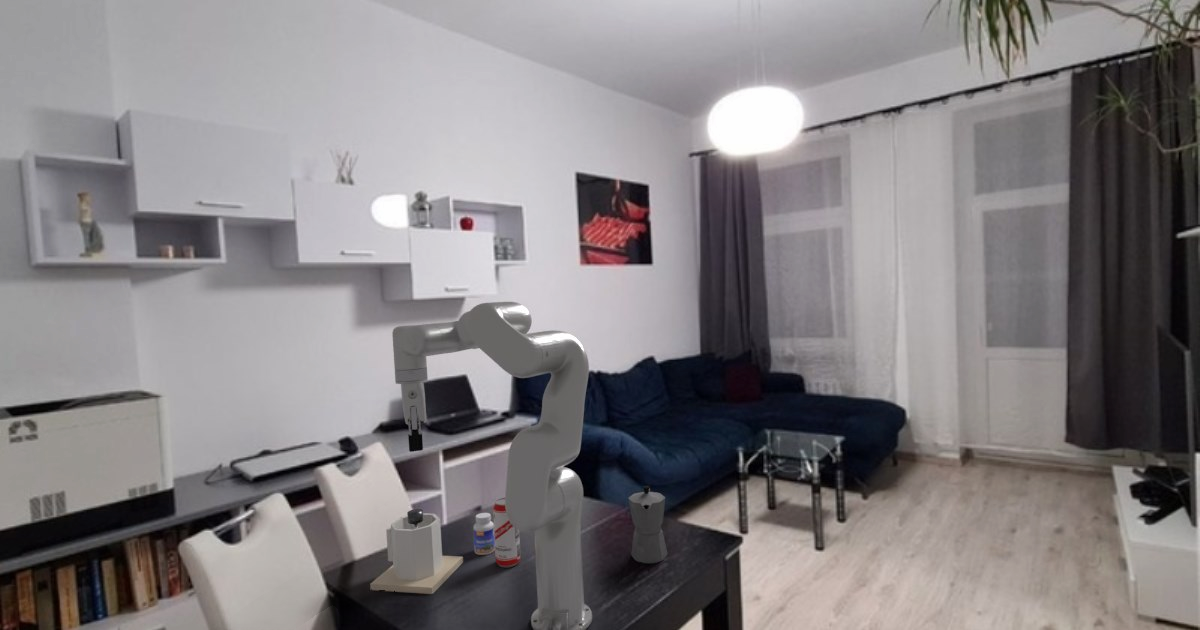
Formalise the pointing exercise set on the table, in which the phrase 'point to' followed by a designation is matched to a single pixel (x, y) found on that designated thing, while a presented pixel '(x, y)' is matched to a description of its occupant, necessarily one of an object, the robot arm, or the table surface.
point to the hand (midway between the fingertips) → (416, 450)
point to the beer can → (505, 537)
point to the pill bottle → (484, 534)
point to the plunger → (415, 517)
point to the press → (416, 558)
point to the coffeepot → (648, 526)
